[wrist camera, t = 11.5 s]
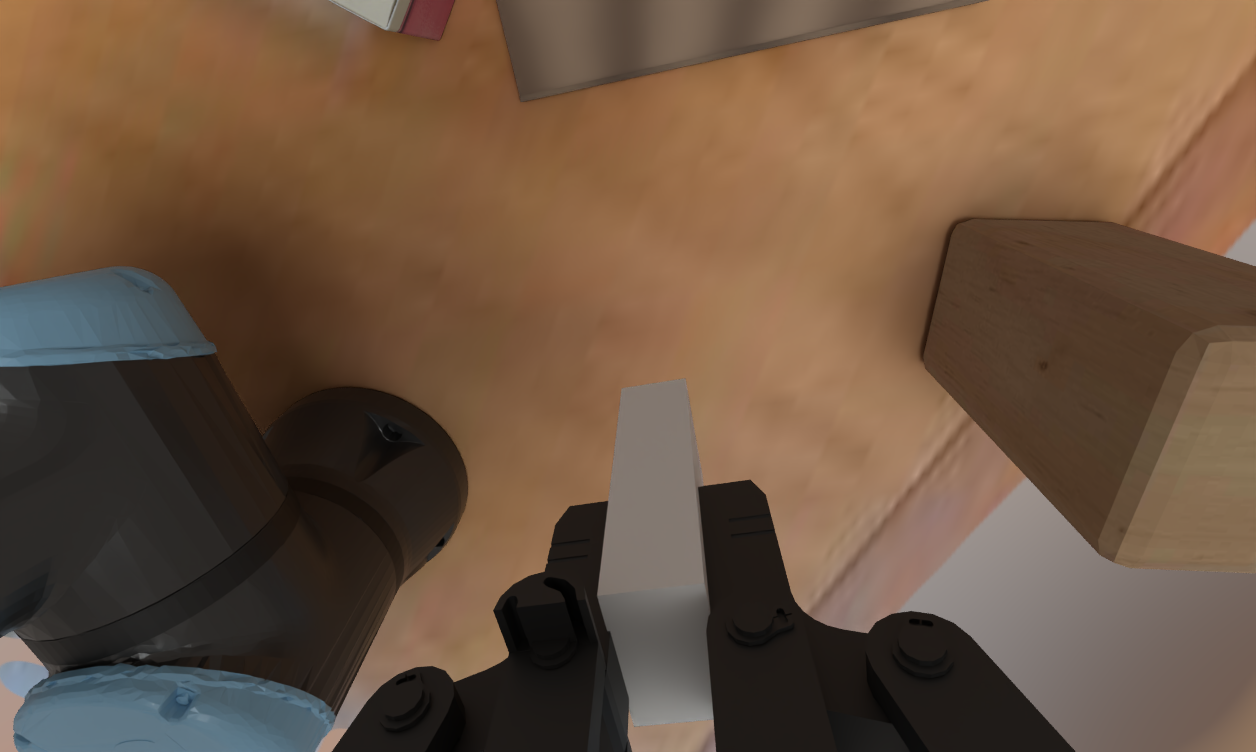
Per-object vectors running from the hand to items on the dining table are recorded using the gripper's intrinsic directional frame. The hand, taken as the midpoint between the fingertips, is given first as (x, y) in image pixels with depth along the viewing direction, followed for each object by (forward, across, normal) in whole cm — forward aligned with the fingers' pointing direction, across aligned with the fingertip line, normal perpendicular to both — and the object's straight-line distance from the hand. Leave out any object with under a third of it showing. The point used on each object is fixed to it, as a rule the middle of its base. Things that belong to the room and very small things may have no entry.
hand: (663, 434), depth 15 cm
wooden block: (+27, +21, -9) cm, 35 cm away
